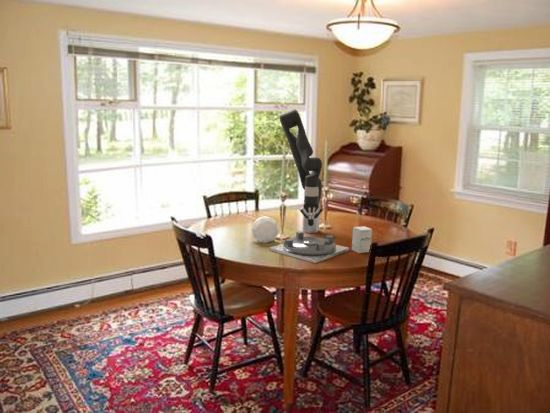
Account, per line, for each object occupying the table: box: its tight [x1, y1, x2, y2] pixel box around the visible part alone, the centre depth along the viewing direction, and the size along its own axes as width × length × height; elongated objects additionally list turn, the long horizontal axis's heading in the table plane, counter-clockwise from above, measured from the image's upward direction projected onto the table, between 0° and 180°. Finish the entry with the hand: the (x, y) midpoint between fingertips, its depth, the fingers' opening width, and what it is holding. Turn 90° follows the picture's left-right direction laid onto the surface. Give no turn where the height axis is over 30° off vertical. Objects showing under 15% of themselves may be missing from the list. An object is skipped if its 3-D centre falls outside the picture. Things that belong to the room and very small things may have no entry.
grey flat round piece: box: [282, 231, 337, 255], centre depth 265 cm, size 28×28×5 cm
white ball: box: [251, 215, 279, 244], centre depth 279 cm, size 14×15×15 cm
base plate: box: [268, 243, 350, 264], centre depth 265 cm, size 30×30×6 cm
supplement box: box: [351, 225, 373, 254], centre depth 266 cm, size 7×7×13 cm
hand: (310, 225), depth 275 cm, fingers closed
